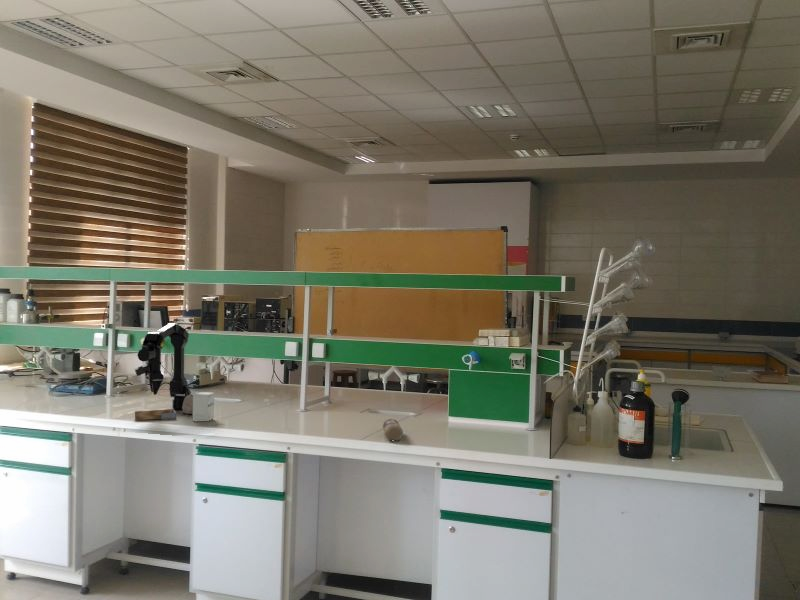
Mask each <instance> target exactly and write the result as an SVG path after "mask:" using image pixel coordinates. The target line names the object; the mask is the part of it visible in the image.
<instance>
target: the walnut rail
mask: <svg viewBox="0 0 800 600" xmlns="http://www.w3.org/2000/svg"><path fill="white" fill-rule="evenodd" d="M172 409H173V408H172V407H163V408H148V409H135V410H134V421H145V420H158V419H160V420H161V413H172Z"/></svg>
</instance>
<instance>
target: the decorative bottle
mask: <svg viewBox="0 0 800 600" xmlns="http://www.w3.org/2000/svg"><path fill="white" fill-rule="evenodd" d="M382 430H383V432H384V434H385V438H386V439H387V440H388V441H390V440H398V441H399V440H401V438H402V437H403V435H404V430H403V428H402V427H401V425H400V424H399V422H398V421H397V419H394V418H390V419H386V420H385V421H383V424H382Z"/></svg>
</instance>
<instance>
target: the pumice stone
mask: <svg viewBox="0 0 800 600" xmlns="http://www.w3.org/2000/svg"><path fill="white" fill-rule="evenodd" d="M182 409H183V410H182V411H183V413H184V414H187V415H193V394H192V393H191V394H190V395H188V396H186V397H185V399H184V402H183V406H182Z"/></svg>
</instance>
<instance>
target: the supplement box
mask: <svg viewBox="0 0 800 600" xmlns="http://www.w3.org/2000/svg"><path fill="white" fill-rule="evenodd" d="M192 395H193V414H192V422H197V421H208V422H210V421H212V420H211V419H213V418H214V419H215V392H207V391H205V392H204V391H199V392H197V393H194V394H193V393H192ZM214 419H213V420H214ZM209 420H210V421H209Z"/></svg>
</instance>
